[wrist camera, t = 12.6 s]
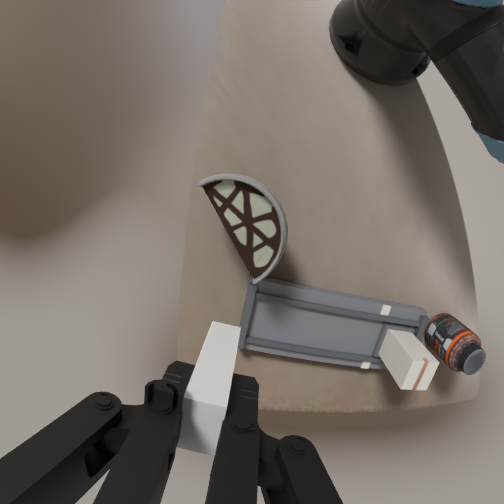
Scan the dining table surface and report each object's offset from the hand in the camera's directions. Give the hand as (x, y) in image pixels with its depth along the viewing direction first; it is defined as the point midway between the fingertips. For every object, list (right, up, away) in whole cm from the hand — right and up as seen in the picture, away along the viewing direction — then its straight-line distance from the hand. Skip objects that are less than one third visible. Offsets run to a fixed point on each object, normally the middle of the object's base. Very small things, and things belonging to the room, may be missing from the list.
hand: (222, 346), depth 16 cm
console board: (+13, -5, +27) cm, 31 cm away
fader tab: (+22, -8, +25) cm, 34 cm away
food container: (+2, +10, +25) cm, 27 cm away
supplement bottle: (+31, -7, +27) cm, 42 cm away
